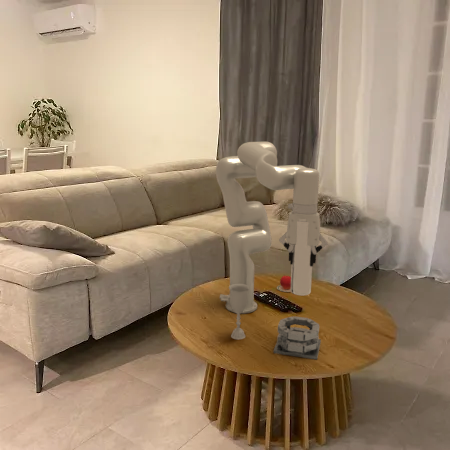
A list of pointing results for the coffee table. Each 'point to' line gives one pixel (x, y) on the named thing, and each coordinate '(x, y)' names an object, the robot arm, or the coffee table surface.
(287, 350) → the collar stand
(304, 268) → the silver metal cylinder
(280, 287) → the apple
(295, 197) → the robot arm
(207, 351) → the coffee table surface
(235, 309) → the chalice
